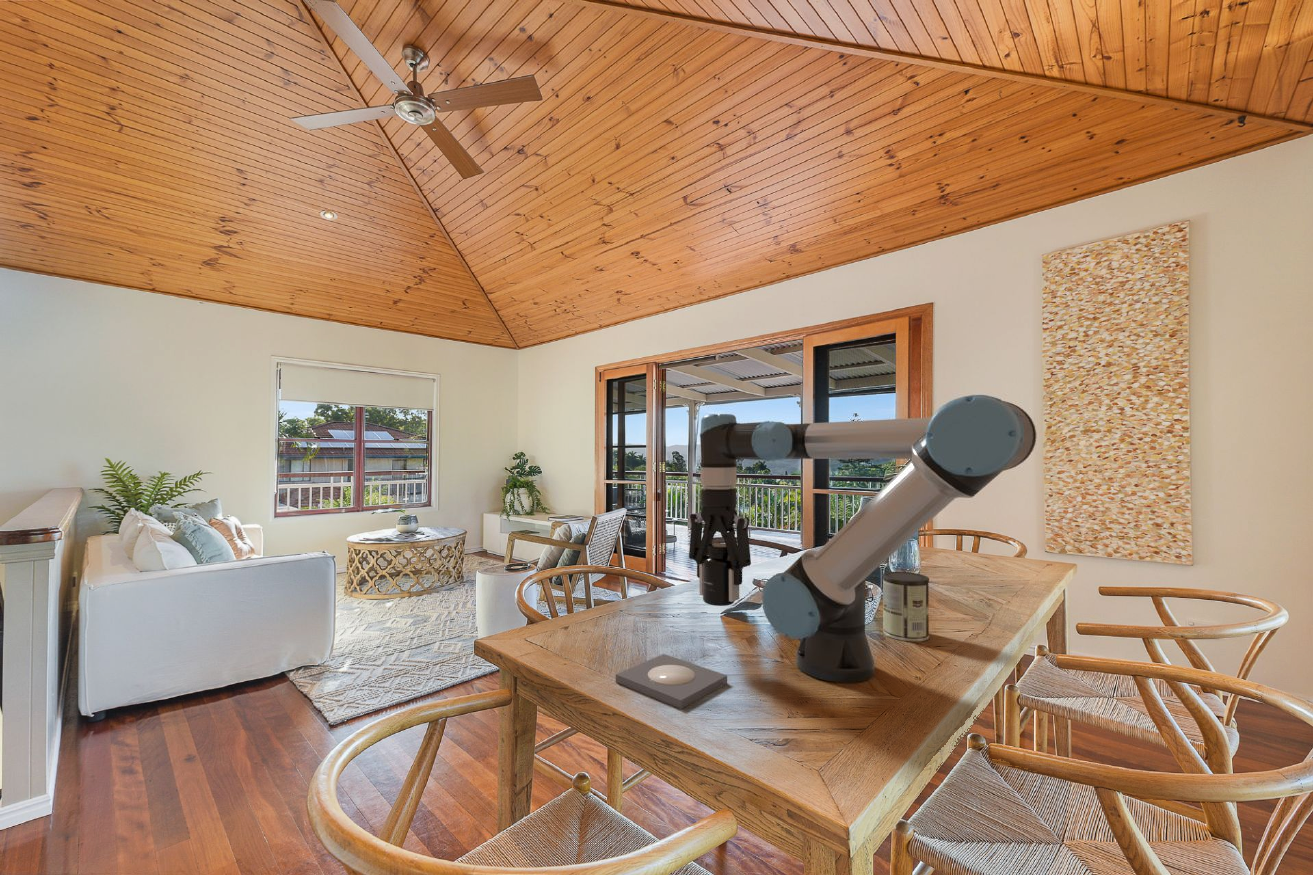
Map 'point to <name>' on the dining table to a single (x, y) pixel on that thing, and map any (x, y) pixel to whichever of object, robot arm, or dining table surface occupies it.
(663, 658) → the board
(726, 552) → the supplement bottle
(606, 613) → the dining table surface
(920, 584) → the coffee can
